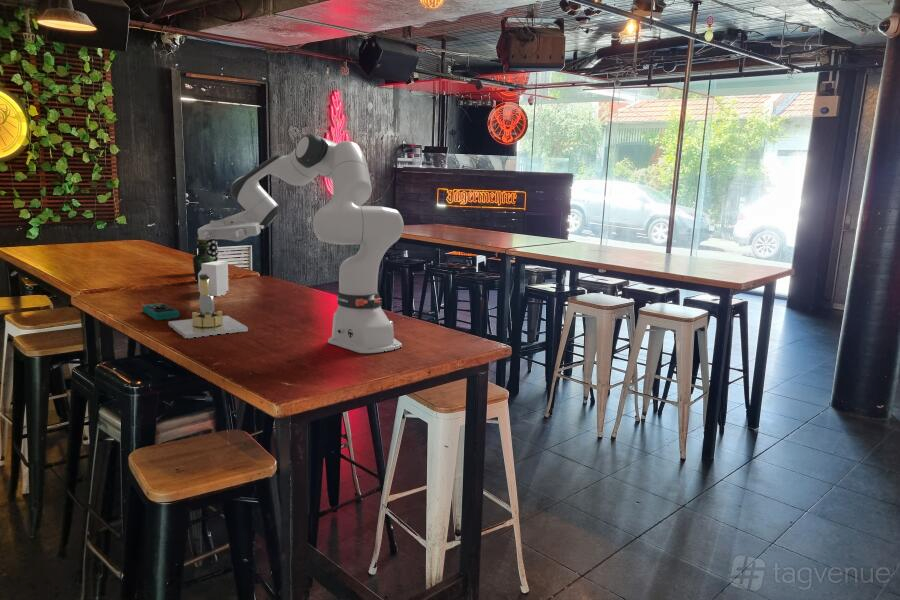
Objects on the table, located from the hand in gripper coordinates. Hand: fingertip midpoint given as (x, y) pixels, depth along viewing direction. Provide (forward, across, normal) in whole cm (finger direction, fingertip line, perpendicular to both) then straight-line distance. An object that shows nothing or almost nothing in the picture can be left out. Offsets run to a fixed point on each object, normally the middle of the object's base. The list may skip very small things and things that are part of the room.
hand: (220, 235), depth 208 cm
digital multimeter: (+8, +21, -24) cm, 33 cm away
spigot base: (+21, 0, -24) cm, 32 cm away
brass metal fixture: (+19, +1, -23) cm, 30 cm away
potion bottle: (-53, +35, -28) cm, 69 cm away
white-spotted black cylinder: (-72, +42, -29) cm, 88 cm away
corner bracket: (-31, +21, -27) cm, 46 cm away
